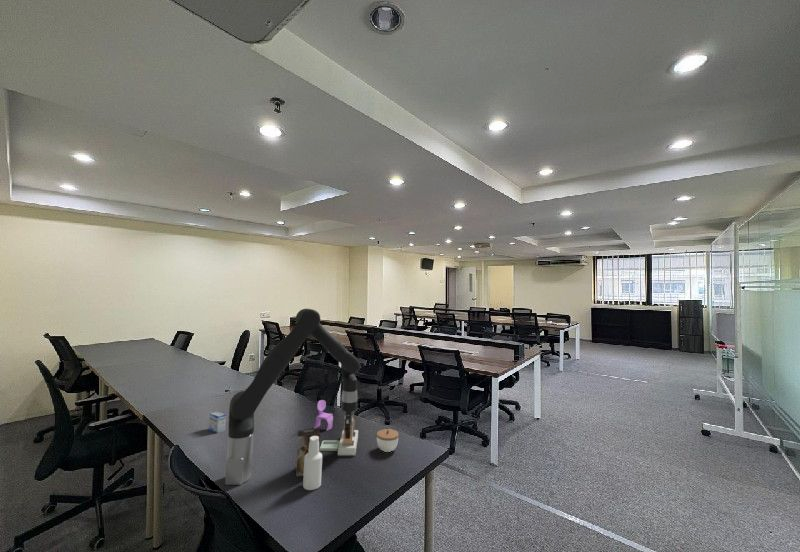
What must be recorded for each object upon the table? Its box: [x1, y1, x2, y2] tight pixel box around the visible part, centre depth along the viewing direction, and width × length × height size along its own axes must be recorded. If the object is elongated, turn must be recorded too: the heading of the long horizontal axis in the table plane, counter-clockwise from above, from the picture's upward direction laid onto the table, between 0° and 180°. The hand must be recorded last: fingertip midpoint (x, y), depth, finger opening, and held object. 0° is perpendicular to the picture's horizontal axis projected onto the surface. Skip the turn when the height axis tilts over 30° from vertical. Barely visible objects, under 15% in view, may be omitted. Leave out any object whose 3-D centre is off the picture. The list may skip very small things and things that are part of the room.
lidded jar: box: [376, 428, 400, 453], centre depth 154 cm, size 11×11×9 cm
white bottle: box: [302, 436, 323, 491], centre depth 124 cm, size 7×7×18 cm
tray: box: [320, 439, 340, 452], centre depth 154 cm, size 8×8×2 cm
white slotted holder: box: [337, 418, 359, 457], centre depth 156 cm, size 20×8×11 cm, turn 4°
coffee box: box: [296, 428, 321, 477], centre depth 133 cm, size 9×6×16 cm
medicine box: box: [208, 411, 227, 434], centre depth 170 cm, size 8×4×9 cm, turn 62°
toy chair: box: [313, 399, 334, 431], centre depth 177 cm, size 8×9×15 cm
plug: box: [343, 418, 354, 443], centre depth 151 cm, size 4×4×10 cm
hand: (348, 436), depth 151 cm, fingers closed on plug, 4 cm apart
